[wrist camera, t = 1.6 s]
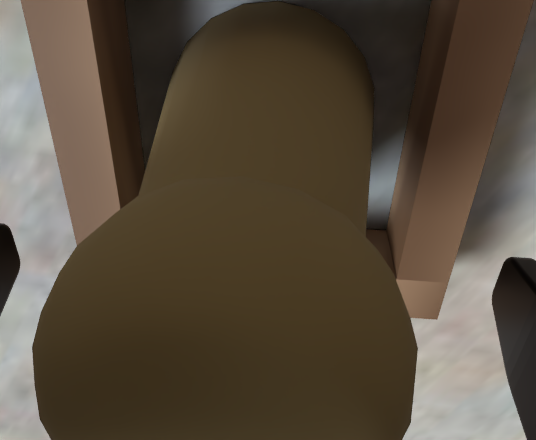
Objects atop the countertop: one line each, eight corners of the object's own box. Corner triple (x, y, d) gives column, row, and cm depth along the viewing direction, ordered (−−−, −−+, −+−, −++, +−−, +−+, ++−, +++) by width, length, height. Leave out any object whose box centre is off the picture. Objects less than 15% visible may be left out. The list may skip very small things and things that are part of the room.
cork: (204, -39, 13) (-55, 168, 4) (415, 55, 14) (619, 402, 5) (147, 158, 16) (-64, 522, 7) (321, 222, 17) (333, 618, 8)
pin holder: (518, -105, 12) (563, -100, 10) (422, 268, 18) (437, 319, 16) (47, -121, 12) (-7, -121, 10) (113, 247, 18) (88, 294, 16)
